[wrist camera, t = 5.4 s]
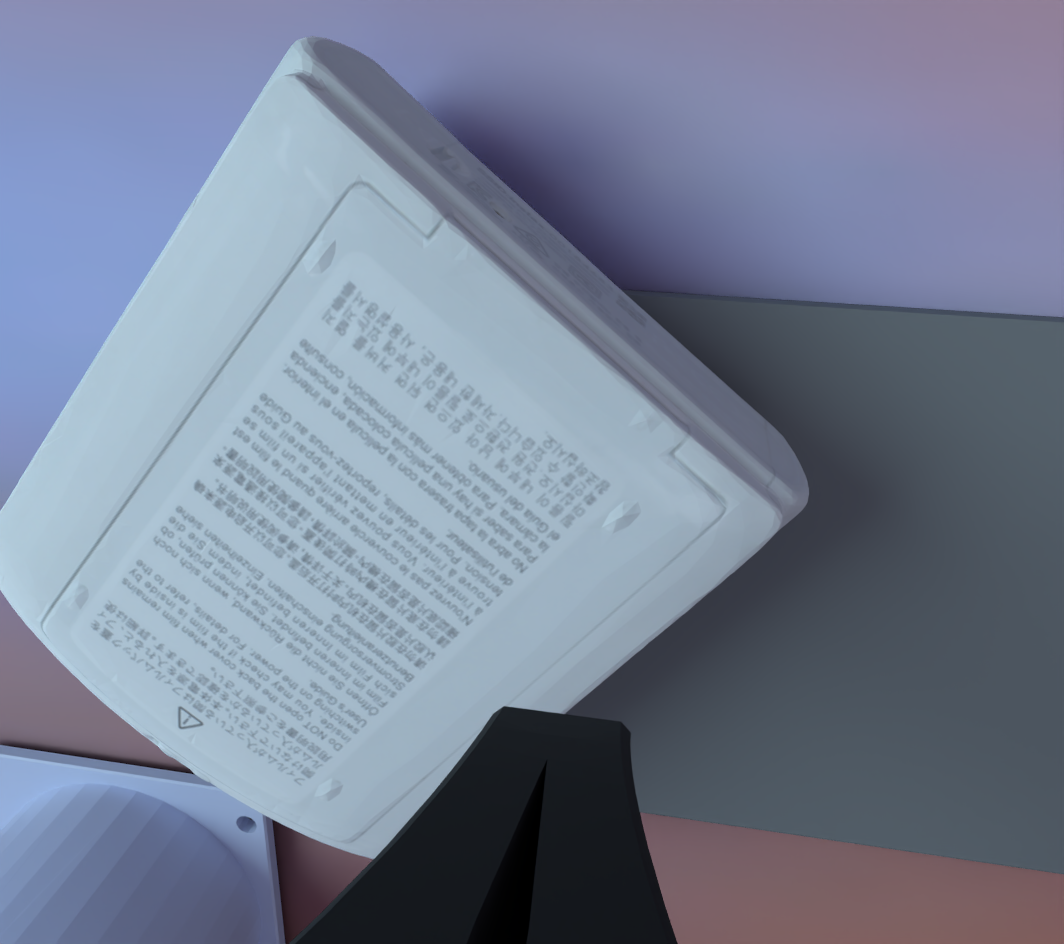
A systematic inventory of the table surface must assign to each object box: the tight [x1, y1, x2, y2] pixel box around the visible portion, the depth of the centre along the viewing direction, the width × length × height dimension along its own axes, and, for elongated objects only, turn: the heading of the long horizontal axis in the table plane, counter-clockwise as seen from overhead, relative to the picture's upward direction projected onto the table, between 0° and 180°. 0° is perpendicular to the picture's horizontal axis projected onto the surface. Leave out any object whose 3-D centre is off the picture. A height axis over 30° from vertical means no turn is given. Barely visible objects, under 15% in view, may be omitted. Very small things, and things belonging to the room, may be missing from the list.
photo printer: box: [0, 36, 809, 859], centre depth 16 cm, size 10×4×12 cm
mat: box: [565, 290, 1064, 874], centre depth 18 cm, size 12×17×1 cm
